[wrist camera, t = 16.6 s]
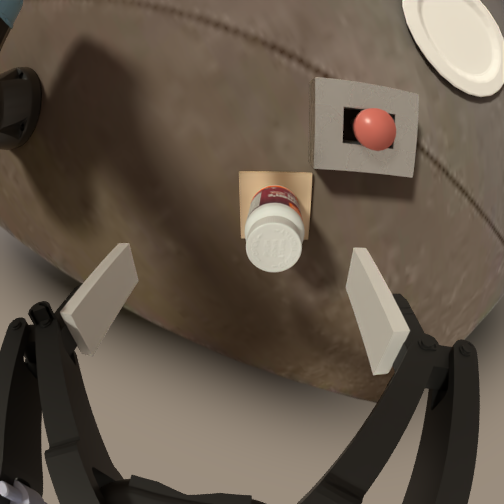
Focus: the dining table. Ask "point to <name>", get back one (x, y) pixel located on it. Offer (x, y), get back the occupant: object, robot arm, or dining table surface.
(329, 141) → the grey boxy piece
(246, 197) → the cork pad
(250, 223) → the pill bottle
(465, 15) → the plate
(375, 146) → the lever
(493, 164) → the dining table surface
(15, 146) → the robot arm
